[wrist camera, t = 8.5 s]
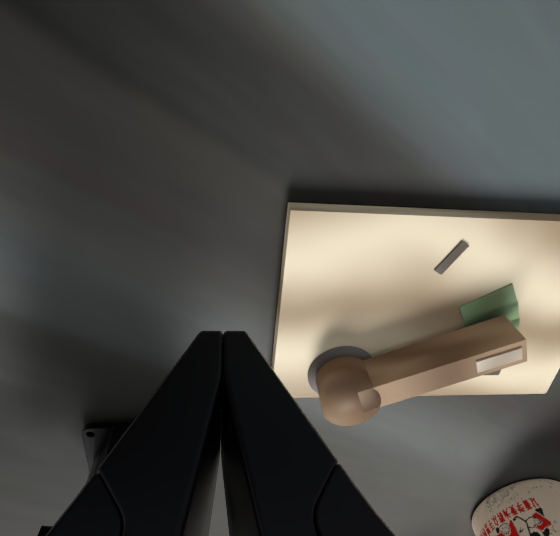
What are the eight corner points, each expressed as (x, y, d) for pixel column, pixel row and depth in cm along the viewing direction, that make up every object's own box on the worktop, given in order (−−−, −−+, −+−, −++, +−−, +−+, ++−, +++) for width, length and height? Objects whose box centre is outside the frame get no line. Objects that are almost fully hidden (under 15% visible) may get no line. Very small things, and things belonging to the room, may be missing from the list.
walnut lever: (323, 403, 26) (331, 434, 24) (308, 366, 24) (315, 396, 22) (505, 346, 25) (528, 372, 23) (503, 303, 23) (527, 329, 22)
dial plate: (536, 382, 29) (546, 394, 28) (269, 385, 27) (270, 399, 26) (621, 216, 23) (638, 225, 22) (287, 202, 21) (290, 211, 20)
